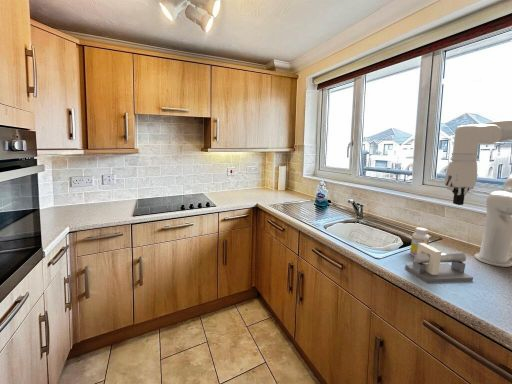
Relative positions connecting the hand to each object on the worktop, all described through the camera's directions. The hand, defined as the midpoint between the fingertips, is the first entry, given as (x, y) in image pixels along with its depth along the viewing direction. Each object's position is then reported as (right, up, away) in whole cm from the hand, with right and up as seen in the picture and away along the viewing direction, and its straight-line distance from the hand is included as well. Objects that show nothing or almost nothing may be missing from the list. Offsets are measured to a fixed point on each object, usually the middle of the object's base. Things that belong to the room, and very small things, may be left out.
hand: (457, 204), depth 107 cm
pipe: (-9, -26, -1) cm, 28 cm away
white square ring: (-14, -25, -2) cm, 29 cm away
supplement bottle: (-5, -25, +17) cm, 31 cm away
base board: (-9, -28, -1) cm, 29 cm away
